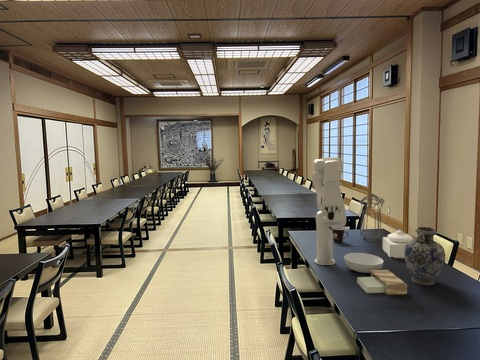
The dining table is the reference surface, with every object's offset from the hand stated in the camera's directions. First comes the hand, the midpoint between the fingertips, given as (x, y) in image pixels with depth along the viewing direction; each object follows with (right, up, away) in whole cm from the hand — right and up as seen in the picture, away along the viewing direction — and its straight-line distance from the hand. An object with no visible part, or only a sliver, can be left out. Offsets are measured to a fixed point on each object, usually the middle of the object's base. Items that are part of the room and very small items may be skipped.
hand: (330, 219), depth 178 cm
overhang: (+26, -33, -7) cm, 42 cm away
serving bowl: (+23, -31, +16) cm, 41 cm away
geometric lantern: (+49, -24, +75) cm, 93 cm away
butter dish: (+56, -28, +43) cm, 76 cm away
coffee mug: (+24, -25, +69) cm, 78 cm away
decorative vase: (+48, -32, -1) cm, 57 cm away
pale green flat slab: (+21, -33, -8) cm, 40 cm away
